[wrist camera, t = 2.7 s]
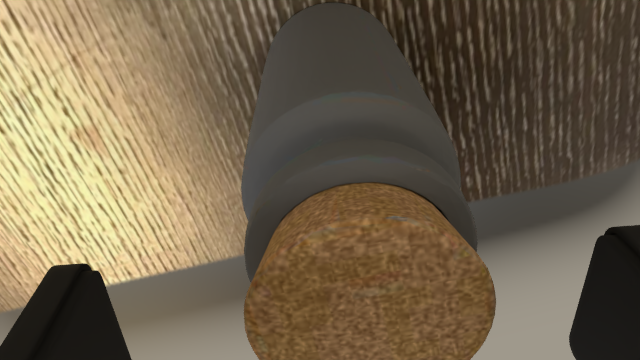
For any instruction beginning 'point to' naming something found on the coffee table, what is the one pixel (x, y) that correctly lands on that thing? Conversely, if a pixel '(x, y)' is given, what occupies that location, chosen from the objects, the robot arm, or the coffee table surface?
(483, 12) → the coffee table surface
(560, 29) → the coffee table surface
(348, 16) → the bottle
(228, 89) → the coffee table surface
